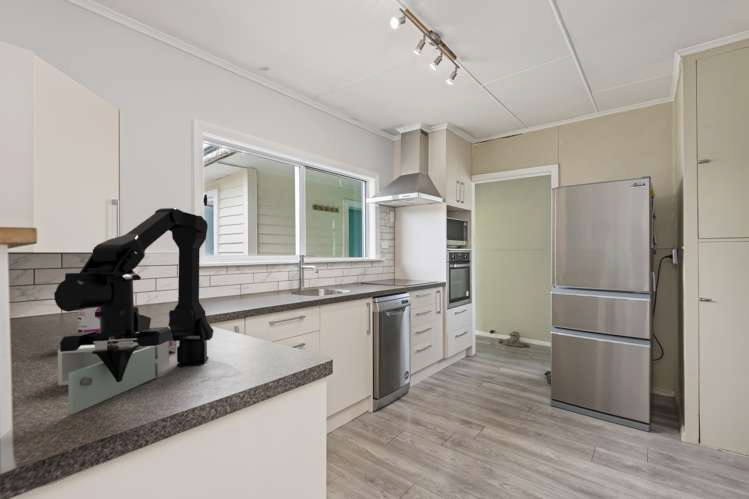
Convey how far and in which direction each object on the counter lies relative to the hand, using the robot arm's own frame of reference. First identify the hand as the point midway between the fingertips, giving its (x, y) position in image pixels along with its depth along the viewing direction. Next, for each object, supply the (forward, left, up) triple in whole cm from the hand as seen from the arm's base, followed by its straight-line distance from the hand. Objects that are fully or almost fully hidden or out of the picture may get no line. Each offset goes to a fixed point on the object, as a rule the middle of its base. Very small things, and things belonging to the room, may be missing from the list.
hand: (119, 381), depth 73 cm
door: (+1, -4, -3) cm, 5 cm away
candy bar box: (+2, -33, -1) cm, 33 cm away
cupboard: (+7, -19, -4) cm, 21 cm away
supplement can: (+29, -58, -4) cm, 65 cm away
